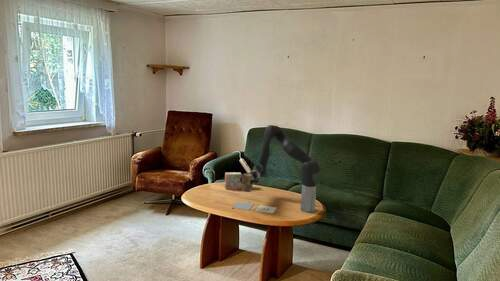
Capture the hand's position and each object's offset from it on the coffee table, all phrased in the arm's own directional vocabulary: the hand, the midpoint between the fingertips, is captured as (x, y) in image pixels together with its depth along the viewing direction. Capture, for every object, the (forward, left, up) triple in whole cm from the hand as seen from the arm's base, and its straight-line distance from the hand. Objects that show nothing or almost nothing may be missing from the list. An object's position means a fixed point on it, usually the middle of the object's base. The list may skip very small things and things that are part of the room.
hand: (246, 182), depth 245 cm
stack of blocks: (+19, -44, -18) cm, 51 cm away
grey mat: (+2, -2, -18) cm, 18 cm away
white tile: (-14, -2, -18) cm, 23 cm away
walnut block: (0, -3, -6) cm, 7 cm away
